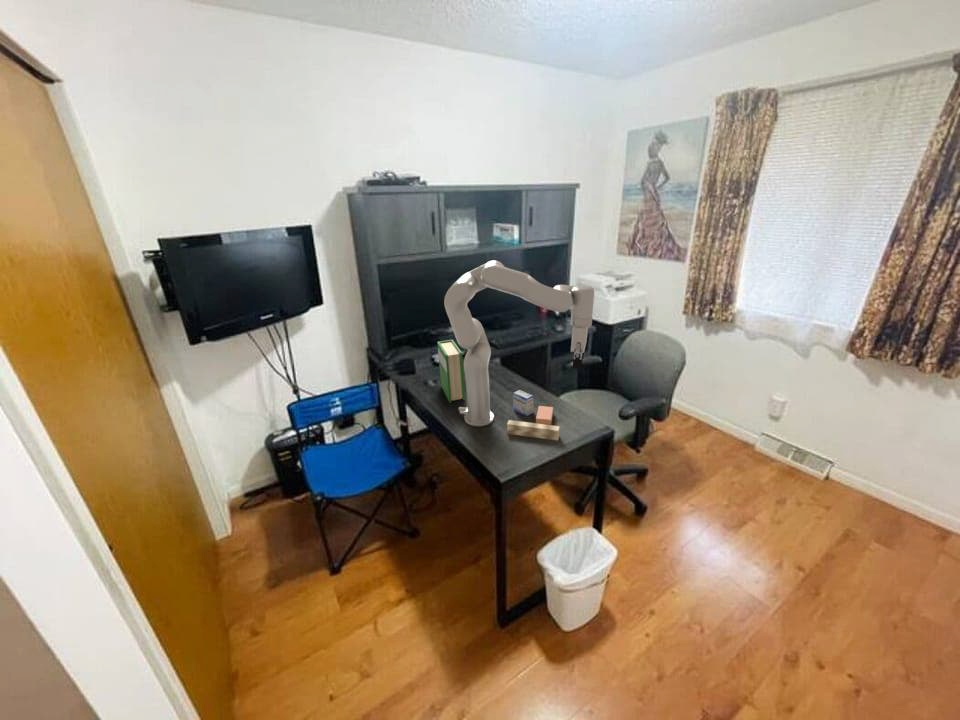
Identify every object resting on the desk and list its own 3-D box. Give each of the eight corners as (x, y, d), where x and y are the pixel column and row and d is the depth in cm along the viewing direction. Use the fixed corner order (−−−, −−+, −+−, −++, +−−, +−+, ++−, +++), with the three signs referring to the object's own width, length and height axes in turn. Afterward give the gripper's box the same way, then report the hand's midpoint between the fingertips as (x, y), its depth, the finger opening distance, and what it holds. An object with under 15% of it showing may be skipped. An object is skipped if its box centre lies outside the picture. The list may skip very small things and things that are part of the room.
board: (507, 433, 152) (507, 424, 150) (508, 429, 155) (508, 420, 153) (558, 440, 147) (558, 430, 145) (559, 436, 149) (559, 426, 148)
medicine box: (512, 410, 168) (512, 392, 165) (519, 406, 171) (519, 389, 168) (526, 416, 163) (527, 398, 160) (533, 412, 166) (533, 395, 162)
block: (535, 426, 157) (535, 418, 155) (538, 413, 165) (538, 405, 164) (550, 428, 155) (551, 419, 153) (552, 415, 164) (553, 407, 162)
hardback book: (465, 400, 178) (462, 352, 168) (449, 403, 176) (445, 355, 167) (455, 383, 194) (452, 339, 184) (441, 386, 192) (437, 341, 182)
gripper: (573, 313, 148) (570, 353, 155) (568, 327, 133) (565, 371, 140) (593, 314, 146) (589, 355, 153) (590, 329, 131) (586, 374, 138)
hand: (578, 363), depth 146 cm, fingers open, 9 cm apart
